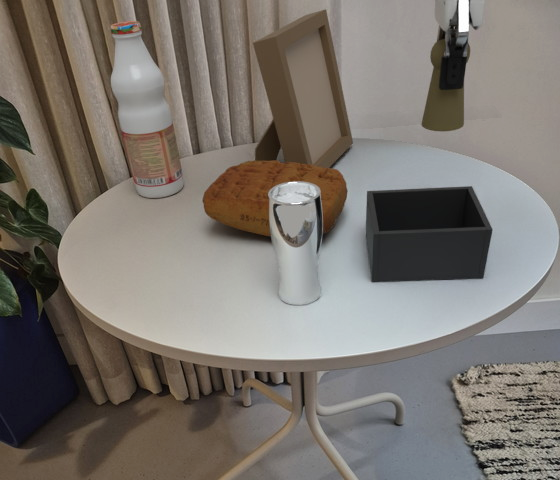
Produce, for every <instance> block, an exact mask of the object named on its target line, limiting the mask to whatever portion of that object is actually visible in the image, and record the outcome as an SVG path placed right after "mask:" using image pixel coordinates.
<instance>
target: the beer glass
mask: <svg viewBox="0 0 560 480" xmlns="http://www.w3.org/2000/svg"><path fill="white" fill-rule="evenodd" d="M268 198H269V206H268V209H269V228H270V235H271V237H270V239H271V245H272V248H273V251H274V255H275V259H276V262H277V266H278V271H279V284H278V297H279V299H280V300H281V301H282V302H284V303H286V304H288V305H293V306H304V305H305V306H306V305H309V304H311V303H314V302H315V301H317V300H318V299H320V297H321V295H322V286H321V281H320V278H319V270H318V269H319V261H320V256H321V249H322V248H321V247H322V243H323V235H324V234H323V212H322V202H321V190H320V188H319V187H318V186H317V185H315V184H313V183H309V182H303V181H293V182H286V183H282V184H279V185H276V186H275V187H273V188H272V189H270V191H269V193H268Z"/></svg>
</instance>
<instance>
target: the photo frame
mask: <svg viewBox="0 0 560 480" xmlns="http://www.w3.org/2000/svg"><path fill="white" fill-rule="evenodd" d="M328 17H329V16H328V12H327V8H325V9H322V10H318V11H314V12H311V13H308V14H305V15H303V16H301V17H298V18H297V19H295V20H293V21H291V22H290V23H288V24H285V25H284V26H282V27H280V28H278V29H276V30H274V31H273V32H270V33H269V34H266V35H264V36H263V37H261V38H259V39H257V40H256V41H253V42H252V46H253V49H254V53H255V56H256V60H257V63H258V67H259V71H260V75H261V79H262V83H263V85H264V89H265V93H266V97H267V100H268V105H269V109H270V111H271V115H272V120H271V121H270V123H269V125H268V126H267V128H266V129H265V131H264V133H263V135H262V137H261V138H260V139H259V141H258V143H257V144H256V146H255V148H254V161H272V160H276V161H278V160H277V159H278V157H279V154H280V151H281V152H282V155H283V159H284V163H286V162H296V163H300V164H306V165H308V164H312V165H315V166H318V167H324V168H331V167H332V166H333V165H334V164H335V163H336V161H338V159H339V158H340V157H341V156H342V155H343V154H344V153H346V151H347V150H348V149H349V148H350V147H351V146H352V145H353V144H354V140H353V135H352V130H351V126H350V121H349V116H348V110H347V105H346V99H345V96H344V91H343V86H342V81H341V77H340V72H339V67H338V62H337V57H336V51H335V46H334V41H333V37H332V32H331V27H330V21H329V18H328Z"/></svg>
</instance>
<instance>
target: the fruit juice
mask: <svg viewBox="0 0 560 480" xmlns="http://www.w3.org/2000/svg"><path fill="white" fill-rule="evenodd" d="M110 34H111V35H112V38H113V39H114V43H115V44H114V59H113V69H112V72H111V76H110V87H111V90H112V93H113V96H114V97H115V99H116V101H117V104H118V109H117V117H118V122H119V128H120V131H121V136H122V139H123V143H124V147H125V152H126V155H127V159H128V164H129V167H130V172H131V175H132V179H133V183H134V188H135V190H136V193H137V194H138V195H139V196H140V197H144V198H148V199H159V198H166V197H170V196H172V195H175V194H176V193H179V192H180V191H182V189H183V188H184V185H185V182H184V175H183V169H182V164H181V159H180V154H179V153H180V152H179V147H178V142H177V137H176V132H175V127H174V120H173V116H172V111H171V107H170V105H169V103H168V102H167V100H166V97H165V88H166V87H165V86H166V83H165V78H164V75H163V72H162V70H161V69H160V67H158V65H157V64H156V62H155V61H154V59H153V58H152V56H151V54H150V52H149V50H148V48H147V46H146V44H145V42H144V41H143V38H142V34H143V32H142V26H141V22H140V21H137V20H128V21H127V20H126V21H119V22H116V23H113V24H111V25H110Z"/></svg>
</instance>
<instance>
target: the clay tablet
mask: <svg viewBox="0 0 560 480" xmlns="http://www.w3.org/2000/svg"><path fill="white" fill-rule="evenodd" d="M293 181H303V182H309V183H313V184H315V185H317V186H318V187H319V188H320V190H321V202H322V212H323V235H324V234H327V233H329V232H331V230H332V229H333V228H334V227H335V225H336V222H337V220H338V218H339V216H340V215H341V213H342V212H343V210H344V207H345V204H346V201H347V197H348V187H347V182H346V180H345V178H344V175H343V174H342V173H341V171H340V170H339V169H336V168H332V167H329V168H324V167H318V166H315V165H312V164H308V165H306V164H300V163H296V162H286V163H285V162H280V161H279V160H272V161H255V160H247V161H243V162H242V163H241V162H240V163H239V164H236V165H233V166H230V167H228V168H226V170H225V171H224V172H222V173H221V174H220V175H219V176H218V177H217V178H216V179H215V180H214V181H213V182H212V183H211V184H210V185H209V187H208V188H207V189H206V190H205V191H204V193H203V197H202V203H203V209H204V213H205V214H206V215H207V216H208V217H209V218H210V219H211V220H214V221H216V222H219V223H220V224H223V225H225V226H227V227H231V228H234V229H236V230H240V231H244V232H248V233H252V234H256V235H260V236H265V237H270V238H271V235H270V228H269V209H268V206H269V198H268V193H269V191H270V189H272V188H273V187H275V186H276V185H279V184H282V183H286V182H293Z"/></svg>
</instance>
